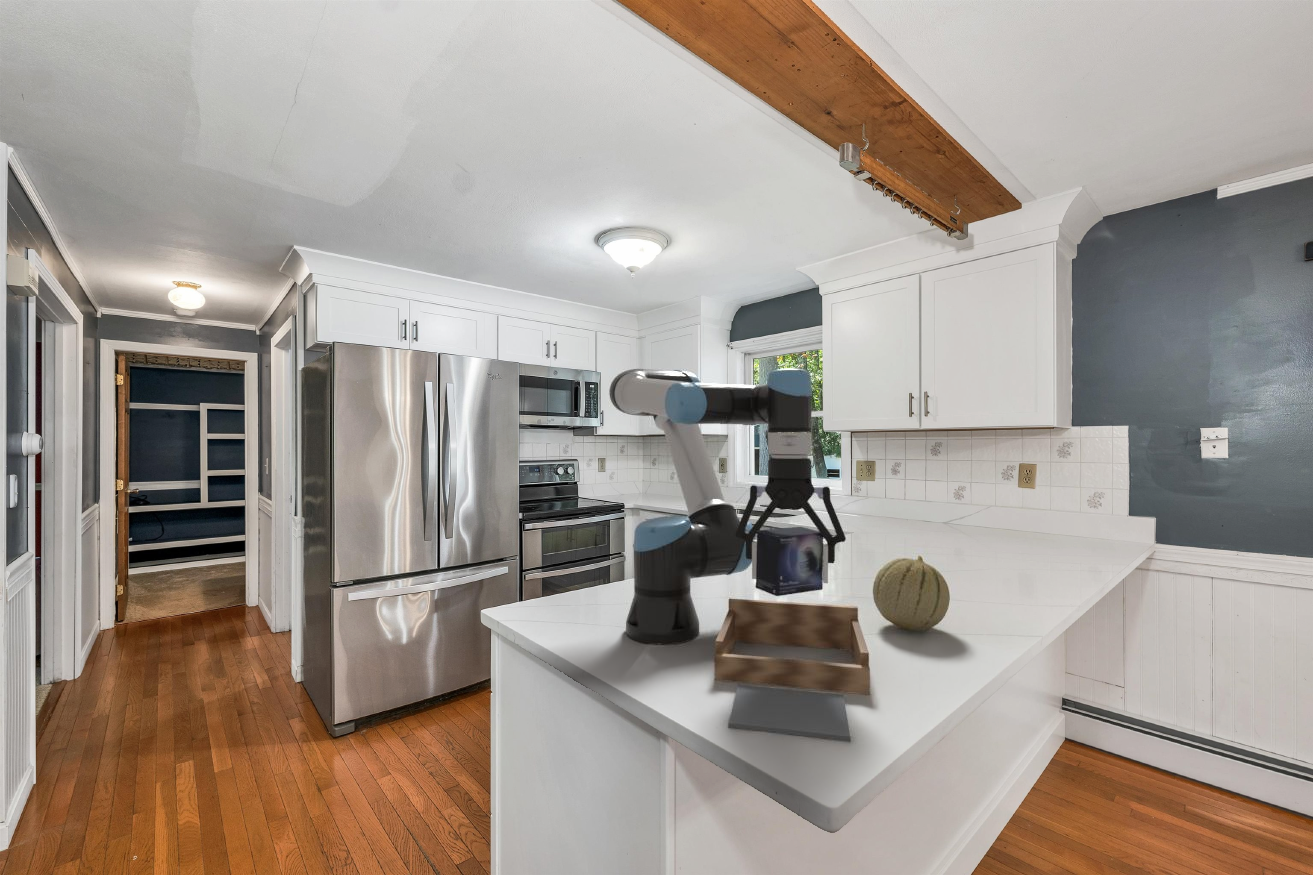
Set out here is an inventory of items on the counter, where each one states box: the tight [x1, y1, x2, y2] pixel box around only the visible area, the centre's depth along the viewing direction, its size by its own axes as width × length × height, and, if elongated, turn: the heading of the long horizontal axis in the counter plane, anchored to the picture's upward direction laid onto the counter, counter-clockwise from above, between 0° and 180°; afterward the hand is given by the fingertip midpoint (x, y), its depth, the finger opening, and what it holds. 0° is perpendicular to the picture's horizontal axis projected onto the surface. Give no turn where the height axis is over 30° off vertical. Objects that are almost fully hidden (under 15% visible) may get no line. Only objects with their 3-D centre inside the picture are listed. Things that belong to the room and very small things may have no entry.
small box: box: [755, 526, 824, 597], centre depth 103 cm, size 11×6×10 cm, turn 117°
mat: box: [727, 684, 851, 742], centre depth 84 cm, size 16×13×1 cm
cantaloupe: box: [872, 555, 951, 632], centre depth 121 cm, size 15×15×15 cm
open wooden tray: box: [714, 598, 871, 696], centre depth 103 cm, size 24×20×8 cm
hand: (789, 579), depth 103 cm, fingers closed on small box, 11 cm apart
